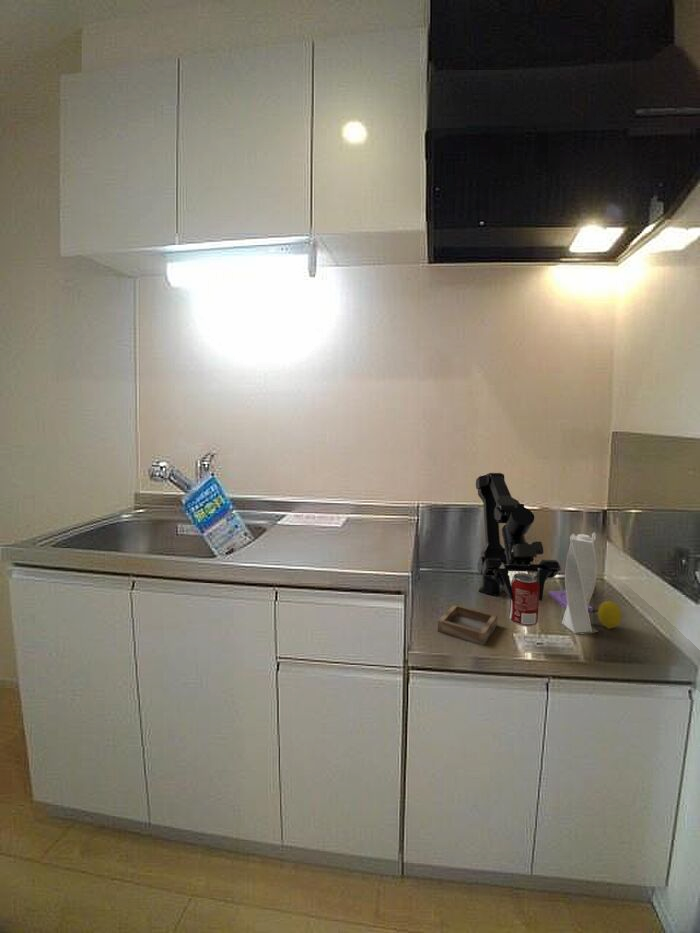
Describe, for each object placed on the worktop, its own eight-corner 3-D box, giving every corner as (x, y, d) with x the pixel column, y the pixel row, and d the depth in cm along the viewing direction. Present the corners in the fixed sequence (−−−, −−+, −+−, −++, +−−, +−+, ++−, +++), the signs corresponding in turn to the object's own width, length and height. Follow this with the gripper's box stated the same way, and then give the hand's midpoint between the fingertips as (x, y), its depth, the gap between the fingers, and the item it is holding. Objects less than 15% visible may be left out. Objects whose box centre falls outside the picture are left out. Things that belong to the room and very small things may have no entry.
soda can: (540, 629, 106) (543, 583, 104) (511, 626, 107) (513, 581, 106) (534, 616, 112) (536, 573, 111) (507, 614, 114) (509, 571, 112)
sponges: (568, 595, 140) (569, 590, 140) (592, 613, 128) (593, 607, 127) (548, 596, 140) (548, 590, 139) (570, 613, 127) (570, 607, 127)
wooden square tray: (454, 613, 126) (454, 604, 125) (496, 625, 119) (497, 615, 118) (437, 631, 116) (437, 620, 115) (483, 645, 109) (483, 634, 108)
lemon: (617, 625, 119) (619, 598, 118) (622, 635, 114) (625, 606, 113) (594, 622, 121) (596, 595, 120) (599, 631, 116) (601, 603, 115)
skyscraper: (601, 635, 114) (610, 533, 110) (574, 637, 112) (582, 534, 109) (580, 620, 122) (587, 525, 119) (554, 622, 121) (560, 526, 117)
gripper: (486, 528, 111) (495, 586, 102) (560, 530, 110) (576, 588, 100) (478, 548, 120) (486, 602, 111) (546, 549, 119) (560, 605, 109)
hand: (526, 599), depth 107 cm, fingers closed on soda can, 7 cm apart
